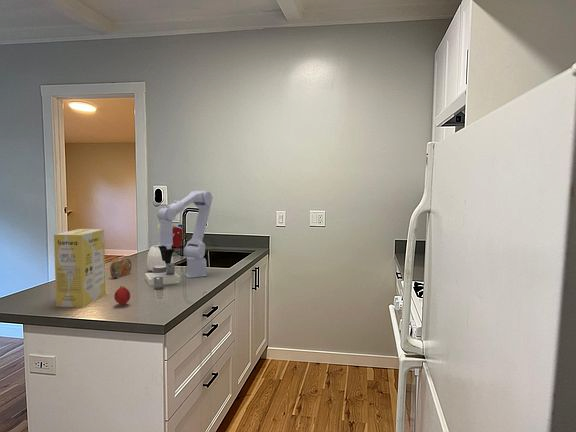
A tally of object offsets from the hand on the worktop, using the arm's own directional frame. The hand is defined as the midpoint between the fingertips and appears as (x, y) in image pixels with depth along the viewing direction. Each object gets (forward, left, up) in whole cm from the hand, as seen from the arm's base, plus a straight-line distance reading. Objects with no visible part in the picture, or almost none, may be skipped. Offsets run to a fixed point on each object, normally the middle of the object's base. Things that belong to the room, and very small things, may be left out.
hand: (166, 262), depth 196 cm
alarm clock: (-26, -100, -11) cm, 104 cm away
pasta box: (+36, +14, -11) cm, 40 cm away
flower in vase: (-12, -70, -11) cm, 72 cm away
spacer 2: (-3, -3, -7) cm, 8 cm away
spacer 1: (+5, +8, -10) cm, 14 cm away
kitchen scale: (+1, -5, -10) cm, 12 cm away
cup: (-2, -28, -11) cm, 30 cm away
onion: (+22, +28, -11) cm, 37 cm away
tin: (+18, -24, -11) cm, 32 cm away
